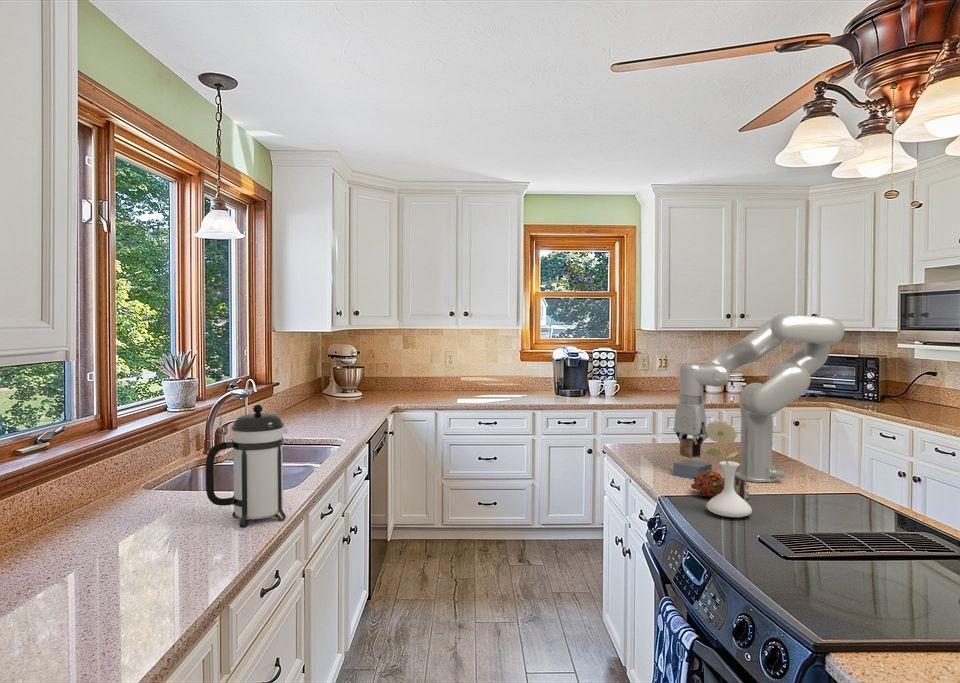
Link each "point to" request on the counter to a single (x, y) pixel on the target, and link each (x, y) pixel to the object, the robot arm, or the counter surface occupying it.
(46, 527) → the counter surface
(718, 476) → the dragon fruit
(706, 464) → the gray rectangular block
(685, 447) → the block
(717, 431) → the flower in vase
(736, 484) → the chocolate cake
